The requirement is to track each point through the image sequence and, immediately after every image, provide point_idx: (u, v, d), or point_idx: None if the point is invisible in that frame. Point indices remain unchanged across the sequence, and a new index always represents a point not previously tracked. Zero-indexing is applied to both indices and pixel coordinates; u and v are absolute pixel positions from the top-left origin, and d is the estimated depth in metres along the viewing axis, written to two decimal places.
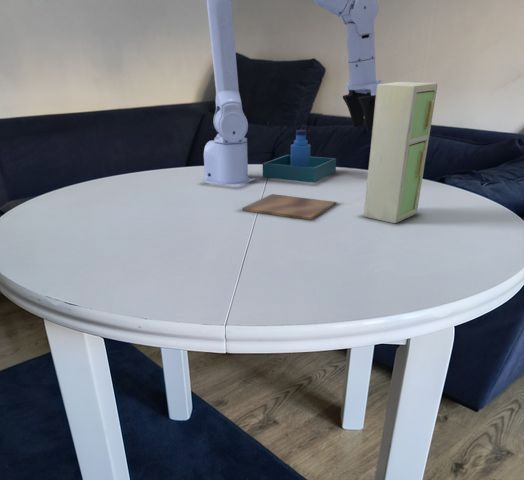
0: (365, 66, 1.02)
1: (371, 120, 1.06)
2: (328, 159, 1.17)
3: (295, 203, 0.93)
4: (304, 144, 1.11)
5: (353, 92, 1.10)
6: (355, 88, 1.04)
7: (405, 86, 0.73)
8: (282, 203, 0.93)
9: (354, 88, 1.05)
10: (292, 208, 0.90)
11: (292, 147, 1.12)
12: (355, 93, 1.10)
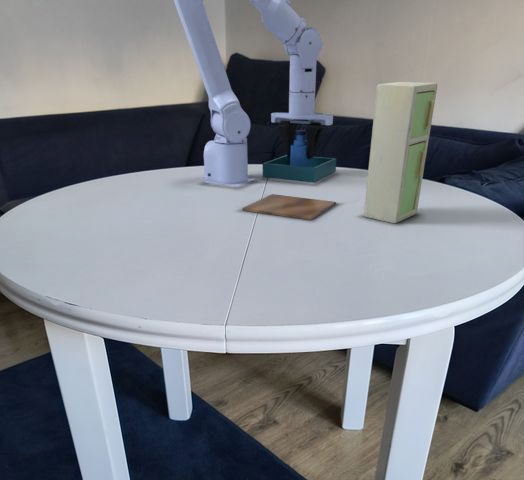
0: (312, 97, 1.06)
1: (312, 148, 1.12)
2: (328, 159, 1.17)
3: (295, 203, 0.93)
4: (304, 144, 1.11)
5: (289, 123, 1.11)
6: (305, 118, 1.07)
7: (405, 86, 0.73)
8: (282, 203, 0.93)
9: (303, 118, 1.07)
10: (292, 208, 0.90)
11: (292, 147, 1.12)
12: (290, 124, 1.11)
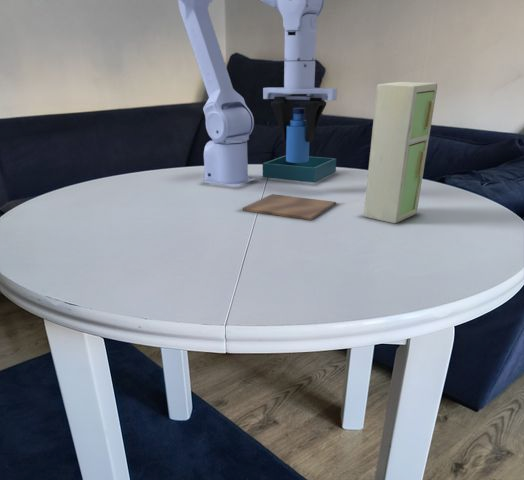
0: (312, 67, 0.88)
1: (312, 130, 0.94)
2: (328, 159, 1.17)
3: (295, 203, 0.93)
4: (302, 124, 0.94)
5: (284, 99, 0.93)
6: (303, 92, 0.89)
7: (405, 86, 0.73)
8: (282, 203, 0.93)
9: (301, 92, 0.89)
10: (292, 208, 0.90)
11: (288, 128, 0.94)
12: (286, 100, 0.93)
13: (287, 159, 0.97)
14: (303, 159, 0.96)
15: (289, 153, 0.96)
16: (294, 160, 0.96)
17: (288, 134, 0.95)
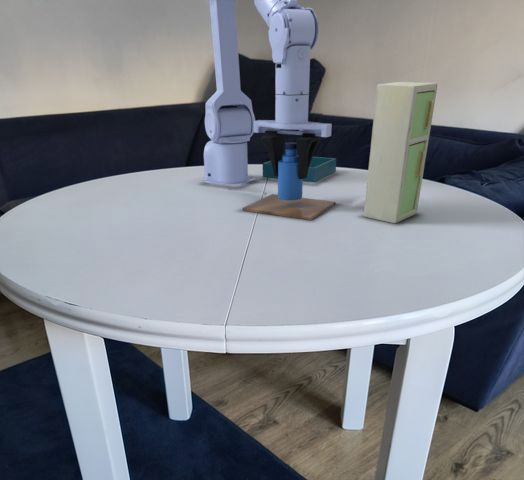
0: (305, 101, 0.82)
1: (305, 166, 0.87)
2: (328, 159, 1.17)
3: (295, 203, 0.93)
4: (295, 160, 0.87)
5: (276, 133, 0.87)
6: (295, 128, 0.83)
7: (405, 86, 0.73)
8: (282, 203, 0.93)
9: (292, 127, 0.83)
10: (292, 208, 0.90)
11: (280, 164, 0.88)
12: (277, 135, 0.87)
13: (279, 196, 0.91)
14: (296, 196, 0.90)
15: (280, 190, 0.90)
16: (286, 198, 0.90)
17: (280, 170, 0.88)
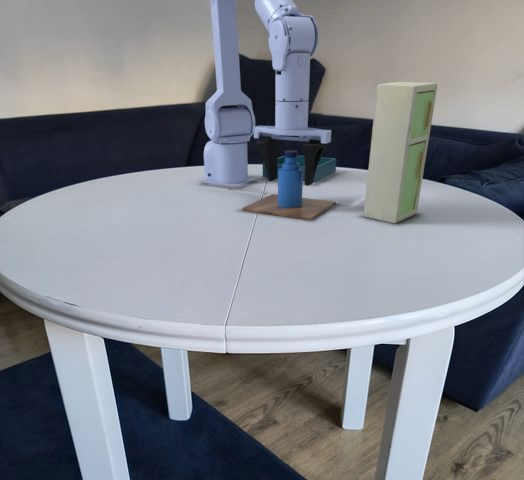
0: (305, 108, 0.82)
1: (311, 173, 0.87)
2: (328, 159, 1.17)
3: None
4: (295, 168, 0.88)
5: (270, 139, 0.88)
6: (295, 134, 0.83)
7: (405, 86, 0.73)
8: None
9: (292, 133, 0.83)
10: (292, 208, 0.90)
11: (279, 172, 0.88)
12: (272, 140, 0.88)
13: (279, 203, 0.92)
14: (296, 204, 0.90)
15: (280, 197, 0.91)
16: (286, 205, 0.90)
17: (279, 178, 0.89)
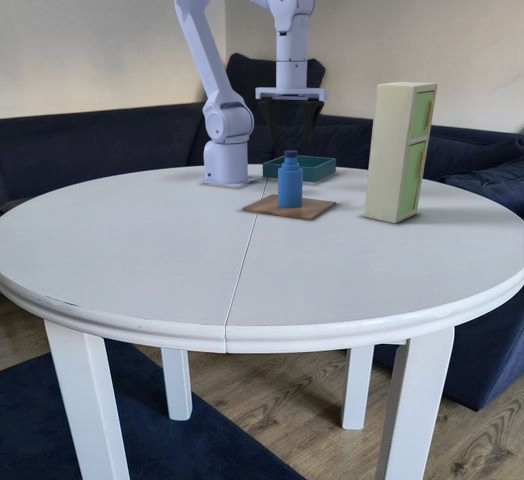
0: (304, 67, 0.89)
1: (310, 130, 0.94)
2: (328, 159, 1.17)
3: None
4: (295, 168, 0.88)
5: (271, 99, 0.94)
6: (295, 92, 0.90)
7: (405, 86, 0.73)
8: None
9: (293, 92, 0.90)
10: (292, 208, 0.90)
11: (279, 172, 0.88)
12: (272, 100, 0.95)
13: (279, 203, 0.92)
14: (296, 204, 0.90)
15: (280, 197, 0.91)
16: (286, 205, 0.90)
17: (279, 178, 0.89)
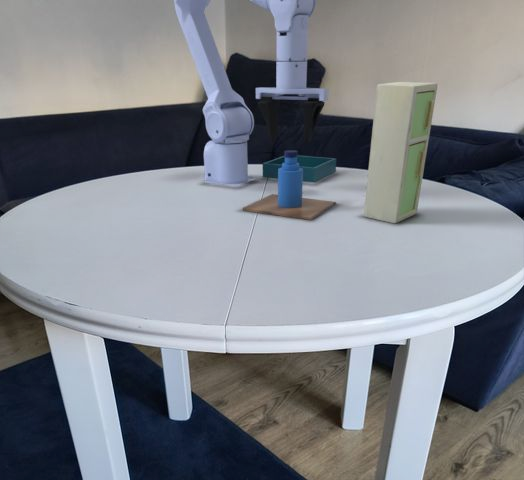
0: (304, 67, 0.89)
1: (310, 130, 0.94)
2: (328, 159, 1.17)
3: None
4: (295, 168, 0.88)
5: (271, 99, 0.94)
6: (295, 92, 0.90)
7: (405, 86, 0.73)
8: None
9: (293, 92, 0.90)
10: (292, 208, 0.90)
11: (279, 172, 0.88)
12: (272, 100, 0.95)
13: (279, 203, 0.92)
14: (296, 204, 0.90)
15: (280, 197, 0.91)
16: (286, 205, 0.90)
17: (279, 178, 0.89)
